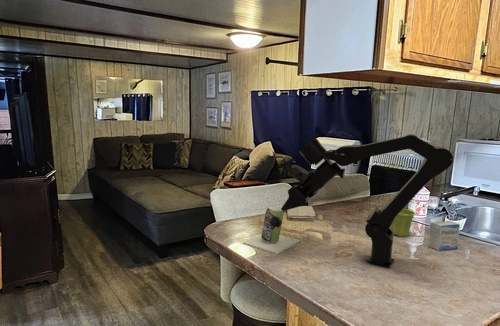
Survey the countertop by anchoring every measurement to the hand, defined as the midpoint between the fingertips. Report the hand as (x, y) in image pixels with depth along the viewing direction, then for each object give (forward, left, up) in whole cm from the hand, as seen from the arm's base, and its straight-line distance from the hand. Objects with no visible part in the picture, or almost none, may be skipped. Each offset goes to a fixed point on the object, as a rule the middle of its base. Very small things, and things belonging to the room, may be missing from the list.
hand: (286, 206), depth 113 cm
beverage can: (-1, +5, -13) cm, 14 cm away
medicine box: (+32, -42, -14) cm, 55 cm away
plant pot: (+37, -27, -13) cm, 48 cm away
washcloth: (+34, +13, -14) cm, 39 cm away
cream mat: (-1, +5, -13) cm, 14 cm away
